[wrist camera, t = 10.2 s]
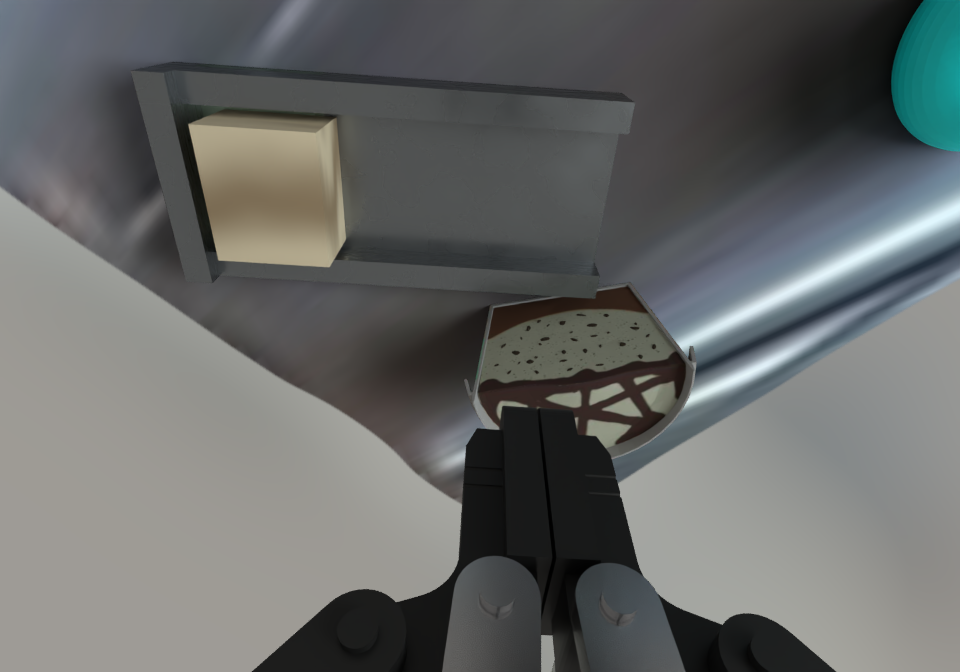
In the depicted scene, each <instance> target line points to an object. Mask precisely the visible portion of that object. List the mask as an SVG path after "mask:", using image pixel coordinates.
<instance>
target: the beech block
mask: <svg viewBox="0 0 960 672" xmlns="http://www.w3.org/2000/svg"><path fill="white" fill-rule="evenodd" d="M188 125H189V130H190V134H191V139H192V143H193V148H194V152H195V157H196V161H197V166H198V170H199V175H200V179H201V184H202V189H203V193H204V198H205V202H206V207H207V211H208V216H209V220H210V225H211V229H212V234H213V238H214V243H215V247H216V252H217V256H218V260H220V261H236V262H252V263H268V264H284V265H300V266H316V267H330V266H331V264H332V262H333V260H334V259H335V257H336V255H337V254H338V252H339V250H340V249H341V247H342V245H343V244H344V242H345V240H346V232H345V219H344V206H343V194H342V181H341V168H340V155H339V143H338V130H337V117H330V116H315V115H301V114H286V113H272V112H257V111H242V110H228V109H223V110H221V111H219V112H216V113H214V114H211V115H209V116H207V117H204V118H202V119H200V120H197V121H195V122H192V123H190V124H188Z"/></svg>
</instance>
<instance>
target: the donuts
mask: <svg viewBox="0 0 960 672" xmlns="http://www.w3.org/2000/svg"><path fill="white" fill-rule="evenodd" d="M891 92H892V98H893V103H894V107H895V110H896V113H897V115H898V117H899V119H900V121H901V123H902V124H903V125H904V127H905V128H906V129H907V130H908V131H909V132H910V133H911V134H912V135H913V136H914V137H916V138H917V139H918V140H920V141H922V142H923V143H926V144H928V145H930V146H933V147H936V148H939V149H943V150H948V151H960V0H923V2H922V3H921V4H920V6H919V7H918V9H917V10H916V12H915V13H914V15H913V17H912V18H911V20H910V22H909V24H908V26H907V27H906V29H905V31H904V34H903V36H902V38H901V41H900V43H899V46H898V49H897V52H896V55H895V59H894V63H893V68H892V77H891Z"/></svg>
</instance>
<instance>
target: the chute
mask: <svg viewBox="0 0 960 672" xmlns="http://www.w3.org/2000/svg"><path fill="white" fill-rule="evenodd" d="M131 74H132V78H133V82H134V85H135V89H136V93H137V97H138V101H139V104H140V108H141V112H142V116H143V120H144V123H145V127H146V131H147V135H148V139H149V142H150V146H151V150H152V154H153V158H154V161H155V165H156V169H157V173H158V177H159V180H160V184H161V188H162V192H163V195H164V199H165V203H166V207H167V211H168V214H169V218H170V222H171V226H172V230H173V233H174V237H175V241H176V245H177V249H178V252H179V256H180V260H181V264H182V268H183V271H184V275H185V279H186V282H200V283H213V282H214V281H215V280H216V279H217V278H218V277H219V276H234V277H250V278H267V279H283V280H299V281H315V282H332V283H348V284H364V285H380V286H396V287H413V288H429V289H445V290H461V291H478V292H494V293H510V294H526V295H542V296H559V297H575V298H591V299H595V297H596V292H597V288H598V283H599V278H600V276H599V273H598V271H597V268H596V266H595V263H594V260H595V255H596V250H597V245H598V239H599V234H600V229H601V224H602V219H603V214H604V208H605V203H606V198H607V193H608V188H609V183H610V178H611V172H612V167H613V162H614V157H615V152H616V147H617V142H618V136H619V134H629V131H630V126H631V121H632V116H633V111H634V106H635V102H634V101H632V100H631V99H629V98H628V97H627V96H625V95H624V94H622V93H610V92H596V91H581V90H567V89H553V88H539V87H524V86H510V85H496V84H482V83H467V82H453V81H439V80H425V79H410V78H396V77H382V76H368V75H354V74H339V73H325V72H311V71H297V70H282V69H268V68H254V67H240V66H225V65H211V64H197V63H183V62H170V63H165V64H160V65H156V66H151V67H146V68H141V69H136V70H131ZM223 109H228V110H242V111H257V112H272V113H286V114H301V115H315V116H330V117H337V130H338V143H339V155H340V168H341V181H342V194H343V206H344V219H345V232H346V240H345V242H344V244H343V245H342V247H341V249H340V250H339V252H338V254H337V255H336V257H335V259H334V260H333V262H332V264H331V266H330V267H316V266H300V265H284V264H268V263H252V262H236V261H220V260H218V256H217V252H216V247H215V243H214V238H213V234H212V229H211V225H210V220H209V216H208V211H207V207H206V202H205V198H204V193H203V189H202V184H201V179H200V175H199V170H198V166H197V161H196V157H195V152H194V148H193V143H192V139H191V134H190V130H189V125H188V124H190V123H192V122H195V121H197V120H200V119H202V118H204V117H207V116H209V115H211V114H214V113H216V112H219V111H221V110H223Z"/></svg>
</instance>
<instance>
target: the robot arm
mask: <svg viewBox="0 0 960 672" xmlns="http://www.w3.org/2000/svg"><path fill="white" fill-rule="evenodd" d="M541 635H553V645H554V656H555V661H554V665H553V668H552V672H836V671H835V670H834V669H832V668H831V667H830V666H829V665H828V664H827V663H825V662H824V661H823V660H822V659H821V658H820V657H818V656H817V655H816V654H815V653H814V652H812V651H811V650H810V649H809V648H808V647H807V646H805V645H804V644H803V643H802V642H801V641H800V640H799V639H797V638H796V637H795V636H794V635H793V634H792V633H790V632H789V631H788V630H786V629H785V628H784V627H783V626H781V625H779V624H778V623H776V622H774V621H772V620H770V619H768V618H766V617H763V616H760V615H755V614H738V615H735V616H732V617H730V618H729V619H728V620H726V621H725V623H724V624H723V625H721V624H718V623H716V622H713V621H710V620H708V619H705V618H703V617H700V616H698V615H695V614H692V613H690V612H687V611H684V610H682V609H680V608H677V607H676V606H674V605H672V604H670V603H669V602H667V601H666V600H665V599H663V598H662V597H661V596H660V595H658V594H657V592H656V591H655V589H654V587H653V586H652V585H651V584H650V583H649V581H647V580H646V579H645V578H644V576H643V575H642V573H641V571H640V568H639V565H638V562H637V558H636V554H635V550H634V546H633V542H632V538H631V534H630V531H629V526H628V523H627V519H626V514H625V511H624V507H623V502H622V499H621V497H620V490H619V487H618V482H617V480H616V475H615V471H614V467H613V463H612V459H611V455H610V453H609V452H608V451H607V449H606V448H605V447H604V446H603V444H602V443H601V442H600V440H599V439H598V438H597V436H589V435H578V433H577V428H576V422H575V417H574V413H573V411H572V410H564V409H549V408H538V409H536V408H532V407H516V406H502V410H501V418H500V427H499V430H495V429H479V428H477V429H476V431H475V433H474V434H473V436H472V437H471V439H470V440H469V442H468V444H467V445H466V456H465V469H464V483H463V496H462V513H461V530H460V547H459V560H458V564H457V566H456V568H455V570H454V572H453V573H452V575H451V576H450V577H449V579H448V580H447V581H446V582H445V583H444V584H442V585H441V586H440V587H438V588H437V589H435V590H433V591H432V592H430V593H427V594H424V595H421V596H418V597H414V598H411V599H407V600H404V601H400V602H395V601H394V600H393V599H392V598H390V597H389V596H388V595H386V594H384V593H382V592H379V591H375V590H369V589H363V590H355V591H351V592H348V593H345V594H343V595H341V596H339V597H337V598H335V599H334V600H333V601H332V602H330V603H329V604H328V605H327V606H326V607H324V608H323V609H322V610H321V611H320V612H319V613H318V614H317V615H316V616H314V617H313V618H312V619H311V620H310V621H309V622H308V623H306V624H305V625H304V626H303V627H302V628H301V629H300V630H298V631H297V632H296V633H295V634H294V635H293V636H292V637H291V638H289V639H288V640H287V641H286V642H285V643H284V644H283V645H282V646H280V647H279V648H278V649H277V650H276V651H275V652H274V653H272V654H271V655H270V656H269V657H268V658H267V659H266V660H265V661H263V663H261V664H260V665H259V666H258V667H257V668H256V669H254V670H253V671H252V672H541Z"/></svg>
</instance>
